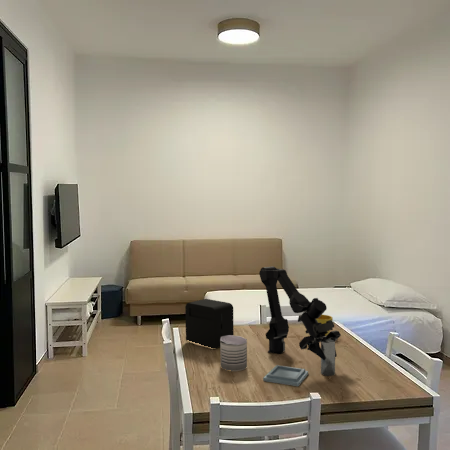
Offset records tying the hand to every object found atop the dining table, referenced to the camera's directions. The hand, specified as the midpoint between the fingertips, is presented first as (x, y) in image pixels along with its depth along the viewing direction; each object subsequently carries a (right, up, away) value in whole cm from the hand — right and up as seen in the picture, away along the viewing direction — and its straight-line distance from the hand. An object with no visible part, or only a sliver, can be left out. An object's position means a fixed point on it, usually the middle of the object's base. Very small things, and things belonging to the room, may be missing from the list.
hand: (330, 358), depth 194 cm
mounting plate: (-18, -7, -2) cm, 19 cm away
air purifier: (-49, -5, +44) cm, 66 cm away
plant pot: (+8, -4, +55) cm, 56 cm away
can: (-38, -7, +10) cm, 40 cm away
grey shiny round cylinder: (-1, -7, +2) cm, 7 cm away
